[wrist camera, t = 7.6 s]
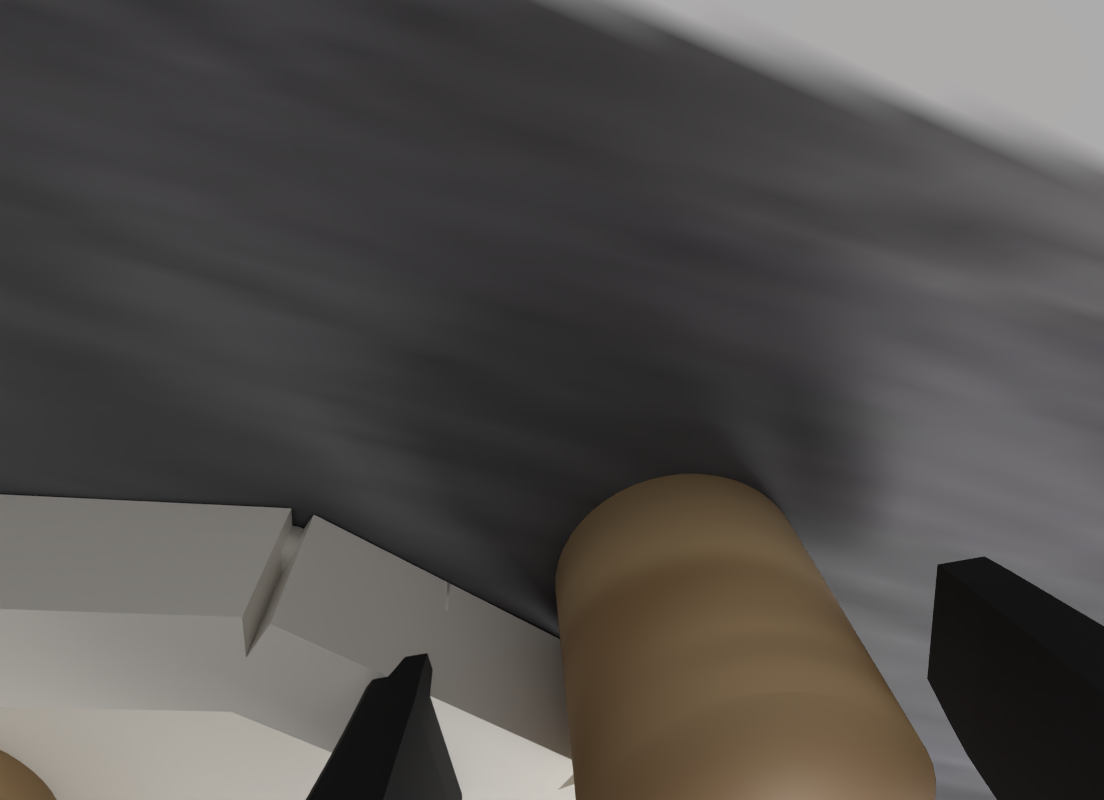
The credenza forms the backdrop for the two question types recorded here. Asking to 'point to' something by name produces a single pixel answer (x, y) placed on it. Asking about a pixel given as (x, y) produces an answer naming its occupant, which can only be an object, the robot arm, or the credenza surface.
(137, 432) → the credenza surface
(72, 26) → the credenza surface
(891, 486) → the credenza surface
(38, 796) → the seated bead
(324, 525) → the tray
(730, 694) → the bead
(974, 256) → the credenza surface
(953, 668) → the robot arm
